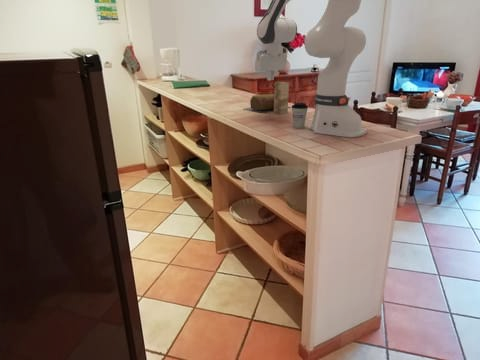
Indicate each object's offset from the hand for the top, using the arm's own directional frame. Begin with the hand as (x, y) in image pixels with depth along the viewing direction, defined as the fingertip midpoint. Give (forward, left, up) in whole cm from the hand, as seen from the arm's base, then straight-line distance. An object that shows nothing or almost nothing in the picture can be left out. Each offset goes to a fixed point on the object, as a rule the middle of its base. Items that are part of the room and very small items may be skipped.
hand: (270, 80), depth 166 cm
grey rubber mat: (+11, -11, -17) cm, 23 cm away
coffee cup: (-26, +14, -17) cm, 34 cm away
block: (+10, 0, -12) cm, 16 cm away
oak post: (-2, -7, -17) cm, 18 cm away
